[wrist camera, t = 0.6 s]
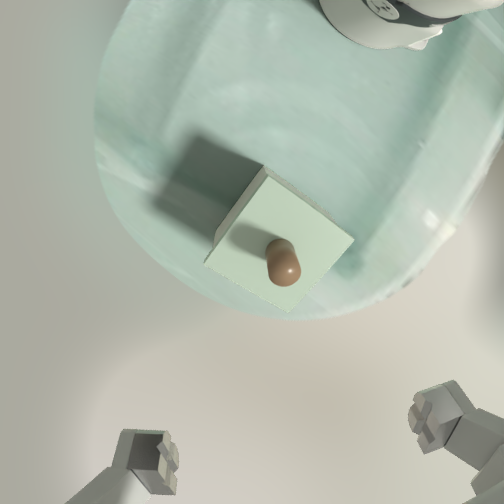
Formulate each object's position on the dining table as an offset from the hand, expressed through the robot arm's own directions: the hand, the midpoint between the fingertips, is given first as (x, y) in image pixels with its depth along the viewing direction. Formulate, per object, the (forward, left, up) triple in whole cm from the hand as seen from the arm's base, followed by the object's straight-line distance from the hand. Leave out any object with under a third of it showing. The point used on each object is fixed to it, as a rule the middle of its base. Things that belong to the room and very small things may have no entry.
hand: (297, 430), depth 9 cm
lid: (+4, +6, -28) cm, 29 cm away
